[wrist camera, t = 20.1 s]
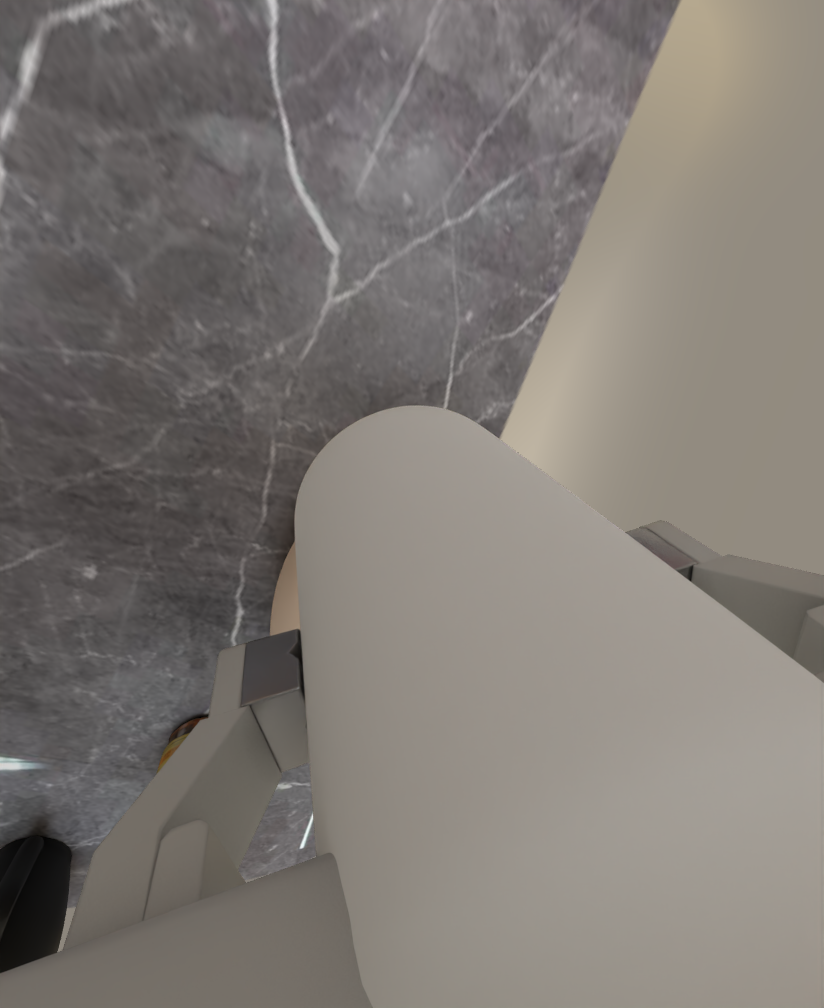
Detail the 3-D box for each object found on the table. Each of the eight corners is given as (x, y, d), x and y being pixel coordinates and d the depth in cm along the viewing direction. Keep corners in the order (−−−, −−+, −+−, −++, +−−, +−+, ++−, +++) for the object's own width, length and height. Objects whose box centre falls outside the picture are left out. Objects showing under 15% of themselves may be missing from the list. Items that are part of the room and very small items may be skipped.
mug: (110, 800, 40) (64, 938, 32) (78, 887, 44) (29, 1031, 35) (-8, 792, 37) (-93, 943, 29) (-32, 886, 41) (-114, 1045, 32)
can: (451, 618, 16) (767, 1241, 6) (261, 575, 14) (213, 1533, 3) (545, 447, 14) (1278, 923, 4) (343, 361, 12) (865, 1053, 1)
